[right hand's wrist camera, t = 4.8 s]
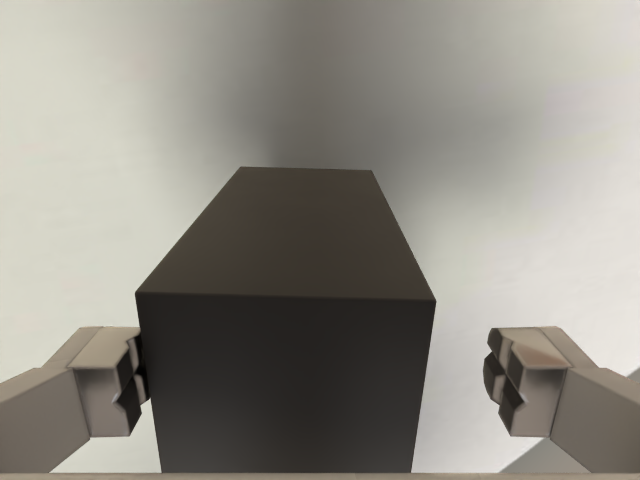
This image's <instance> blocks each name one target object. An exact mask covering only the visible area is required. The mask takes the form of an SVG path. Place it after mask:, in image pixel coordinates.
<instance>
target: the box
mask: <svg viewBox="0 0 640 480" xmlns="http://www.w3.org/2000/svg"><path fill="white" fill-rule="evenodd" d="M135 298H136V305H137V311H138V318H139V325H140V331H141V338H142V344H143V351H144V358H145V364H146V371H147V378H148V384H149V391H150V398H151V404H152V411H153V418H154V424H155V431H156V437H157V444H158V451H159V457H160V464H161V471H162V473H411V468H412V461H413V455H414V448H415V441H416V435H417V428H418V421H419V414H420V408H421V401H422V394H423V388H424V381H425V374H426V367H427V361H428V354H429V347H430V341H431V334H432V327H433V320H434V314H435V307H436V299H435V297H434V295H433V293H432V291H431V289H430V287H429V285H428V283H427V281H426V279H425V277H424V275H423V273H422V271H421V269H420V267H419V265H418V263H417V261H416V259H415V257H414V255H413V253H412V251H411V249H410V247H409V245H408V243H407V241H406V239H405V237H404V235H403V233H402V231H401V229H400V227H399V225H398V223H397V221H396V219H395V217H394V215H393V213H392V211H391V209H390V207H389V205H388V203H387V201H386V199H385V197H384V195H383V193H382V191H381V189H380V187H379V185H378V183H377V181H376V179H375V177H374V174H373V172H372V171H371V170H340V169H306V168H272V167H240V168H239V169H238V170H237V171H236V173H235V174H234V175H233V176H232V177H231V179H230V180H229V181H228V182H227V183H226V185H225V186H224V187H223V188H222V189H221V190H220V192H219V193H218V194H217V195H216V196H215V198H214V199H213V200H212V201H211V202H210V204H209V205H208V206H207V207H206V208H205V210H204V211H203V212H202V213H201V214H200V216H199V217H198V218H197V219H196V220H195V221H194V223H193V224H192V225H191V226H190V227H189V229H188V230H187V231H186V232H185V233H184V235H183V236H182V237H181V238H180V239H179V241H178V242H177V243H176V244H175V245H174V246H173V248H172V249H171V250H170V251H169V252H168V254H167V255H166V256H165V257H164V258H163V260H162V261H161V262H160V263H159V264H158V266H157V267H156V268H155V269H154V270H153V271H152V273H151V274H150V275H149V276H148V277H147V279H146V280H145V281H144V282H143V283H142V285H141V286H140V287H139V288H138V289H137V291H136V292H135Z"/></svg>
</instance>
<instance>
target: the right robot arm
mask: <svg viewBox="0 0 640 480" xmlns="http://www.w3.org/2000/svg"><path fill="white" fill-rule="evenodd" d="M487 344H488V345H489V347H490V349H491V350H492V352H491V353H490V354H489V355H488V356H487V357H486V358H485V359H484V367H483V376H484V384H485V387H486V391H487V393H488V395H489V397H490V399H491V400H493V401H494V402H496V403H497V404H499V405H500V407H499V412H498V414H499V416H500V418H501V419H502V421H503V423H504V425H505V427H506V429H507V431H508V432H509V434H510V436H516V437H550V440H551V441H553V442H554V443H555V444H556V445H558V446H559V447H560V448H561V449H563V450H564V451H565V452H566V453H568V454H569V455H570V456H571V457H573V458H574V459H575V460H576V461H577V462H579V463H580V464H581V465H582V466H584V467H585V468H586V469H587V470H589V471H590V472H591V473H49V472H50V471H52V470H53V469H54V468H55V467H56V466H58V465H59V464H60V463H61V462H63V461H64V460H65V459H66V458H68V457H69V456H70V455H71V454H73V453H74V452H75V451H76V450H78V449H79V448H80V447H81V446H83V445H84V444H85V443H86V442H88V441H89V440H90V437H123V436H130V434H131V433H132V431H133V429H134V427H135V425H136V423H137V421H138V420H139V418H140V416H141V414H142V412H141V407H140V405H141V404H143V403H144V402H146V401H147V400H149V399H150V391H149V384H148V378H147V371H146V364H145V358H144V351H143V344H142V338H141V331H140V327H103V326H91V327H81V328H79V329H78V330H77V331H76V332H75V333H74V334H73V335H72V336H71V337H70V338H69V339H68V340H67V341H66V342H65V344H64V345H63V346H62V347H61V348H60V349H59V350H58V351H57V352H56V353H55V354H54V355H53V356H52V357H51V358H50V359H49V360H48V361H47V362H46V363H45V364H44V365H43V366H42V367H41V368H33V369H30V370H28V371H26V372H24V373H22V374H20V375H18V376H15V377H13V378H11V379H9V380H7V381H5V382H2V383H0V480H640V383H637V382H635V381H633V380H631V379H629V378H627V377H625V376H622V375H620V374H618V373H616V372H614V371H612V370H610V369H607V368H599V367H598V366H597V365H596V364H595V363H594V362H593V361H592V360H591V359H590V358H589V357H588V356H587V355H586V354H585V353H584V352H583V351H582V350H581V349H580V348H579V347H578V345H577V344H576V343H575V342H574V341H573V340H572V339H571V338H570V337H569V336H568V335H567V334H566V333H565V332H564V331H563V330H562V329H561V328H559V327H556V326H546V327H518V328H492V329H491V331H490V333H489V336H488V341H487Z"/></svg>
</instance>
